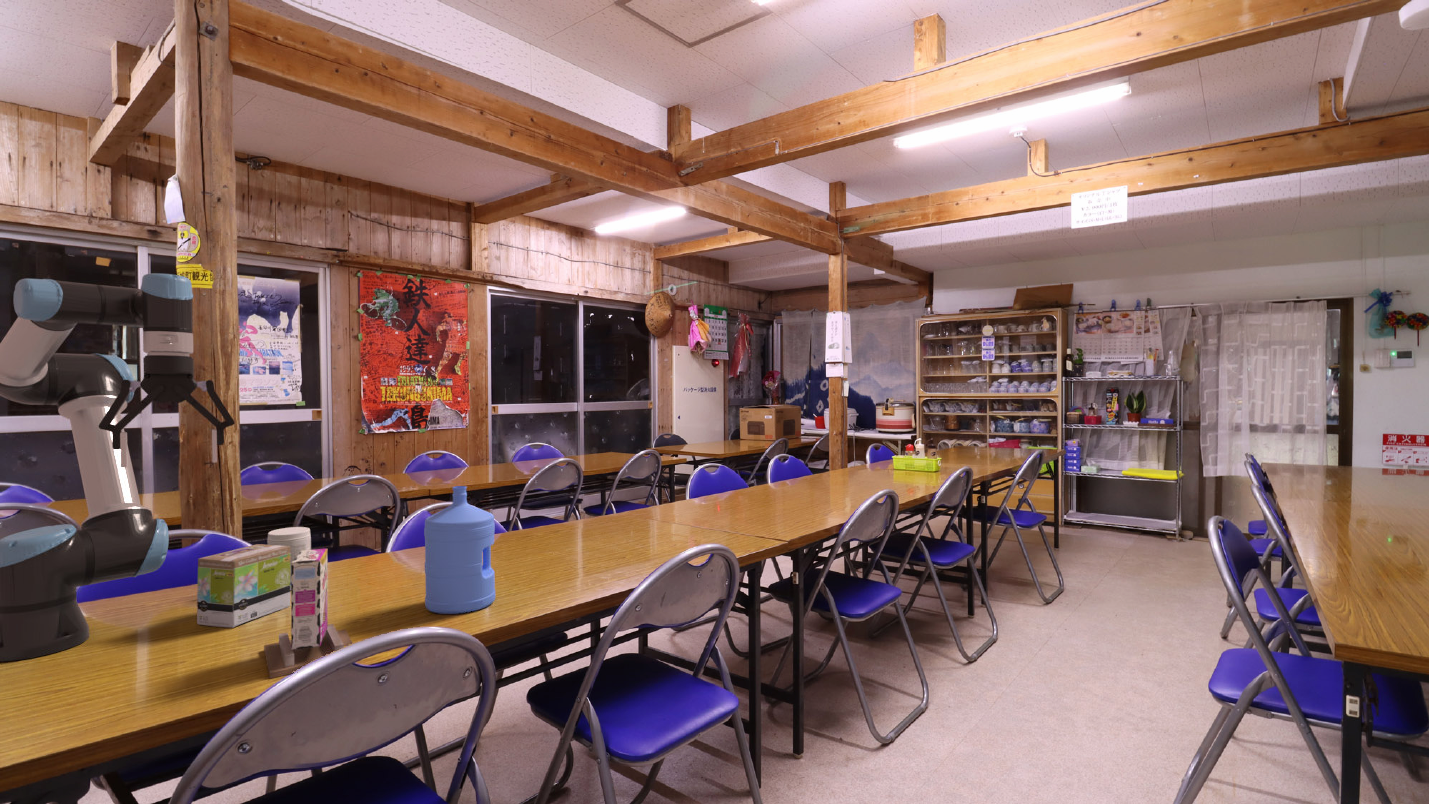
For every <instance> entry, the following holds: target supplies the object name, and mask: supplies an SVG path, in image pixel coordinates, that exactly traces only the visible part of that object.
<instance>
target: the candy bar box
mask: <svg viewBox="0 0 1429 804" xmlns="http://www.w3.org/2000/svg"><path fill="white" fill-rule="evenodd" d="M328 567H329V566H328V548H313V549H312V548H311V550H302V551H300V553H299V554H298V555H297V556H296V558H295V559H294V560H293V561H292V563H291V590H290V607H291V608H290V609H291V610H290V611H291V613H290V615H291V616H290V618H291V619H290V620H291V621H290V622H291V625H290V626H291V627H290V632H291V633H290V634H291V637H290V638H291V639H290V640H291V650H300V649H308V648H315V647H320V645H321V642H322V640H323V637H324V635H325V632H326V630H327V626H328V625H329V624H328V623H329V622H328V576H329V574H328V573H329V571H328Z"/></svg>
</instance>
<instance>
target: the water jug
mask: <svg viewBox="0 0 1429 804" xmlns="http://www.w3.org/2000/svg"><path fill="white" fill-rule="evenodd" d="M467 488H468V486H466V485H459V486H458V485H456V486H452V491H453V492H452V503H451V505H449V506H447V507H445V508H443V509H441V510H439V511H437V512H435V513H433V514H432V515H430V516H427V517H426V519H425V520H424V528H423V531H424V532H423V534H424V550H425V551H424V552H425V553H424V557H425V558H424V574H425V598H424V606H425V608H426V610H428V611H429V612H431V613H434V614H441V615H459V613H460V614H464V613H465V614H466V612H467V613H471V611H472V612H476V611H480V610H482V609H485V608H486V607H488V606H490V605H491V604H493V603H494V601H495V600H496V588H495V587H496V585H495V584H496V582H495V580H496V579H495V575H496V574H495V570H494V569H493V568H492V566H491V565H492V563H491V562H492V561H491V559H492V558H491V556H492V555H491V554H492V552H491V551H492V550H491V546H492V545H494V544H495V531H496V527H495V526H496V525H495V524H496V523H495V515H494V514H493V513H491V512H490V511H486V510H484V509H481V508H480V507H476V506H475V505H471V504H469V503H468V500H467V498H468V497H467V496H468V492H467Z"/></svg>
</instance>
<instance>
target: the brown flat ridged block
mask: <svg viewBox="0 0 1429 804" xmlns="http://www.w3.org/2000/svg"><path fill="white" fill-rule="evenodd" d="M352 643H353V641H352V639H351V637H350V636H349V634H348V632H347V630H346V629H341V630H337V629H336V627H335V625H334V623H329V624H328V626H327V630H326V632H325V635H324V637H323V640H322V642H321V645H320V647H315V648H308V649H300V650H291V639H290V637H289V634H288V632H282V633H279V634H278V642H274V643H270V644H269V643H268V644H264V645H263V646H264V647H263V649H264V655H265V662H266V666H267V670H268V675H269V679H274V678H279V677H282V676H283V677H284V676H288V675H292V674H291V673H292V672H293V671H296V670H297V669H300V668H301V667H302V666H305V665H306V664H308V663H310V662H311V661H313V660H315V659H318V658H320V657H321V656H325V655H326V654H330V653H331V652H333V651H337V650H339V649H341V648H343V647H344V646H348V645H349V644H352Z"/></svg>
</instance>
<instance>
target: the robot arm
mask: <svg viewBox="0 0 1429 804" xmlns="http://www.w3.org/2000/svg"><path fill="white" fill-rule="evenodd" d="M141 278H142V279H141V285H140V288H134V287H133V288H132V287H124V286H113V285H100V284H93V283H83V282H81V283H80V282H74V281H73V282H72V281H64V280H63V281H62V280H55V279H51V278H42V279H40V278H22V279H19V280H18V281H17V282H16V284H15V286H14V291H13V307H14V312H15V313H16V315H17V318H16V320H15V321H14V322H13V324H12V326H11V327H10V328H9V330H8V332H7V333H6V335H5V336H4V337H3V338H2V340H1V342H0V397H2V398H4V399H7V400H9V401H12V402H15V403H19V404H23V405H30V406H31V405H32V406H33V405H36V406H40V405H41V406H45V405H46V406H48V405H49V406H50V405H51V406H56V407H57V411H58V414H59V415H60V417H63V418H65V419H67V420H69V423H70V428H71V432H72V436H73V442H74V446H75V452H76V457H77V461H78V466H79V467H78V468H79V473H80V476H81V482H82V486H83V491H84V497H85V501H86V507H87V511H88V516H87V517H86V518H85V519H84V520H83V521H82V522H81V529H77V528H76V527H75V526H74V524H70V523H68V524H67V523H65V524H56V525H47V526H46V525H45V526H42V527H36V528H32V529H28V530H23V531H20V532H16V533H12V534H10V535H7V536H5V537H2V538H1V539H0V662H12V661H20V660H27V659H31V658H38V657H42V656H46V655H51V654H54V653H58V652H61V651H64V650H67V649H71V648H73V647H76V646H78V645H81V644H82V643H85V641H87V640H89V638H90V625H89V624H88V622H87V620H86V618H85V616H84V613H83V612H82V610H81V607H80V606H79V603H78V601H77V599H78V598H77V588H80V587H83V586H90V585H96V584H100V583H106V582H112V581H115V580H116V581H117V580H121V579H122V580H123V579H126V578H136V577H138V576H142V575H146V574H150V573H154V572H155V571H158V570H159V569H160V568H161V567H162V566H163V564H164V562H165V561H166V557H167V554H168V550H169V549H168V548H169V535H170V534H169V528H168V524H167V523H166V521H165V519H162V518H157V517H156V518H155V519H154V518H153V511H152V510H151V509H150V508H148V507H145V506H143V505H141V500H140V495H139V490H138V486H137V482H136V477H135V473H134V468H133V464H132V459H131V456H130V455H131V454H130V450H129V446H128V432H127V431H125V429H124V428H126V427H127V426H128V425H130V423H131V422H132V421H133V420H135V418H136V417H138V415H140V414H141V412H143V411H144V410H145V409H146V408H147V407H149V405H150V404H152V402H156V403H158V404H166V403H174V404H180V403H183V402H185V401H186V402H187V403H188V404H190V406H192V407H193V408H194V409H195V410H196V411H197V412H198V413H200V415H202V416H203V417H204V418H205V419H206V420H207V421H208V422H210V423H211V424H212V425H213V426H214V427H215V428H213V429H211V449H212V450H211V451H212V457H211V458H212V459H211V460H212V463H214V464H215V463H218V446H222V445H224V443H225V430H226V428H228V427H231V426H234V425H235V422H236V421H235V420H234V419H233V416H231V414H230V412H229V410H228V409H227V408H226V406H225V404H224V403H223V402H222V400H221V398H220V396H219V395H218V394H217V392H216V391H215V383H214V381H213V380H212V379H208V380H204V381H196V380H195V374H194V373H195V372H194V371H195V370H194V368H195V365H194V363H195V362H194V358H193V356H190V355H192V354H193V353H194V328H193V326H194V324H193V323H194V322H193V321H194V319H193V317H194V316H193V315H194V313H193V312H194V311H193V309H194V308H193V304H194V303H193V298H194V294H193V286H192V282H191V280H190V279H189V277H186V276H183V275H179V274H171V273H155V272H154V273H146V274H143V276H142V277H141ZM78 324H87V325H88V324H89V325H108V326H122V327H123V326H124V327H131V328H134V329H135V328H136V329H142V350H143V352H144V353H146V355H145V356H144V357H143V361H142V362H143V378H142V380H141V381H135V380H134V377H133V374H132V371H131V369H130V367H129V365H128V364H127V362H126V361H125V360H123V359H122V358H121V357H119V356H117V355H113V354H102V353H101V354H100V353H90V354H87V353H86V354H85V353H63V352H60V353H59V352H57V351H58V349H59V348H60V347H61V345H62V344H63V343H64V341H65V340H66V339H67V338H68V336H69V335H70V334H71V332H72V331H73V329H74V328H75V327H76V326H77V325H78ZM197 387H198V388H200V389H201V390H202V392H207V394H208V396H209V397H210V399H211V401H212V402H213V404H214V405H215V407H216V409H217V410H218V411H219V414H221V416H222V418H223V419H224V421H220V420H219V419H218V418H217V417H216V416H215V415H214V414H212V412H211V411H209V409H207V408H206V407H205V406H204V405H203V404H201V403H200V402H199V400H197V399H196V398H195V397H194V396H193V395H192V394H193V393H194V391H196V389H197ZM138 388H141V389H142V390H143V391H144V392H145V394H146V396H145V397H144V398H142V399H141V400H140V401H139V402H138V404H136V405H135V406H134V407H133V408H132V409H130V411H129V412H127V413H126V415H124V416H123V417H122V416H121V415H122V412H124V411H125V409H127V407H128V404H129V403H130V402H131V401H132V400H133V398H134V395H135V391H136V390H137V389H138Z"/></svg>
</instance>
